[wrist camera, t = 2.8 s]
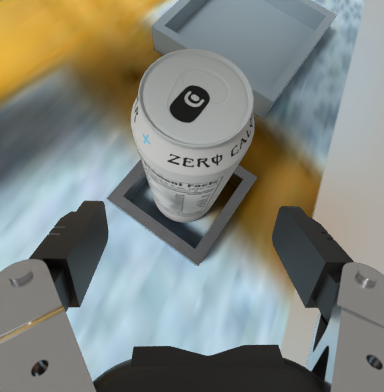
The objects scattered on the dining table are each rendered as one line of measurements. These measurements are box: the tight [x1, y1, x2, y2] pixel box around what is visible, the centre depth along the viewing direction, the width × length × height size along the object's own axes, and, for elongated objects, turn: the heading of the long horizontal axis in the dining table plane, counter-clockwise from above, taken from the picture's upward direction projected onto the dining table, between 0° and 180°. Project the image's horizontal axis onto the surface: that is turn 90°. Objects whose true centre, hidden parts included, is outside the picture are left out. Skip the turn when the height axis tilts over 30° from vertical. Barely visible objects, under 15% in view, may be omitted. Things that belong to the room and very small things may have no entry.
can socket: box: [107, 160, 257, 266], centre depth 23 cm, size 10×10×2 cm
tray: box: [152, 0, 336, 119], centre depth 29 cm, size 16×16×3 cm
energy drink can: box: [131, 49, 255, 223], centre depth 17 cm, size 6×6×15 cm
